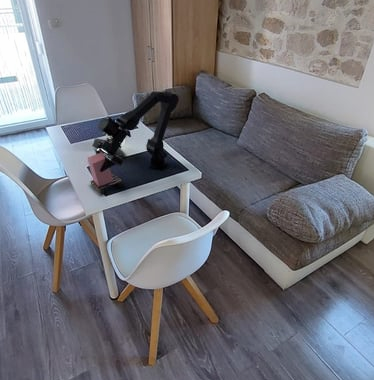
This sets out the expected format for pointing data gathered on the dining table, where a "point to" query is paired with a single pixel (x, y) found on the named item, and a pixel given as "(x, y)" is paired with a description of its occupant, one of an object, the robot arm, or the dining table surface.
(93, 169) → the box
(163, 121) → the robot arm
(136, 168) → the dining table surface
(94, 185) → the rack
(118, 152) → the phone
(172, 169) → the dining table surface
